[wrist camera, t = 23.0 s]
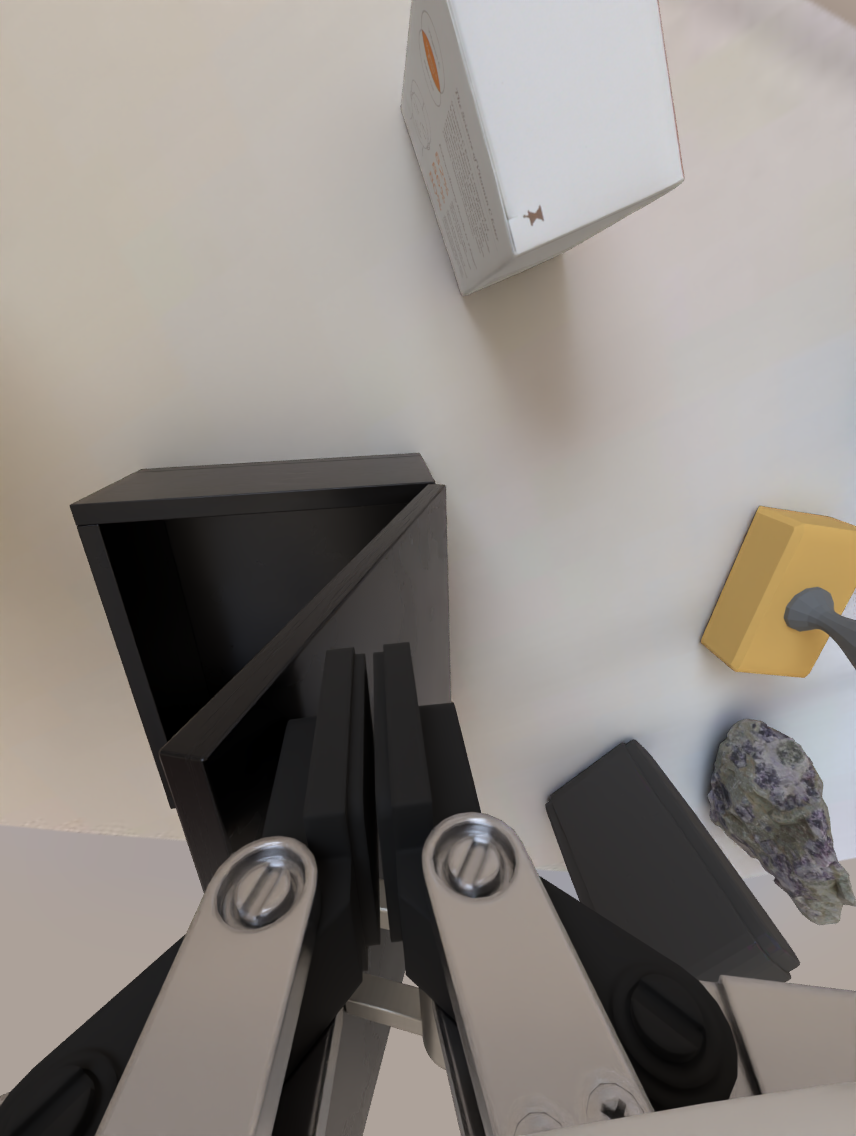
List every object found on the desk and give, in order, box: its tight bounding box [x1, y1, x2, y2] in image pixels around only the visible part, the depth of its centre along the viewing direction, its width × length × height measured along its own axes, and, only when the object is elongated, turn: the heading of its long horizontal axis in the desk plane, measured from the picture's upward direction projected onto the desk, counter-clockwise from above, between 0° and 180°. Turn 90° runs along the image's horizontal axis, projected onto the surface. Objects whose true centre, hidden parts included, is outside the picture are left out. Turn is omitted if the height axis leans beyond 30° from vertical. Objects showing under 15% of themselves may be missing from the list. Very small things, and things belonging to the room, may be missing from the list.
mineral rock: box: [708, 719, 856, 925], centre depth 36 cm, size 13×11×10 cm
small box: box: [401, 0, 684, 296], centre depth 18 cm, size 8×6×10 cm
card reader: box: [545, 740, 800, 983], centre depth 32 cm, size 9×4×15 cm, turn 133°
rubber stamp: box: [701, 506, 856, 678], centre depth 28 cm, size 10×6×12 cm, turn 170°
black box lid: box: [159, 484, 451, 1136], centre depth 17 cm, size 16×17×4 cm
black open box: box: [70, 453, 435, 809], centre depth 27 cm, size 15×17×7 cm
